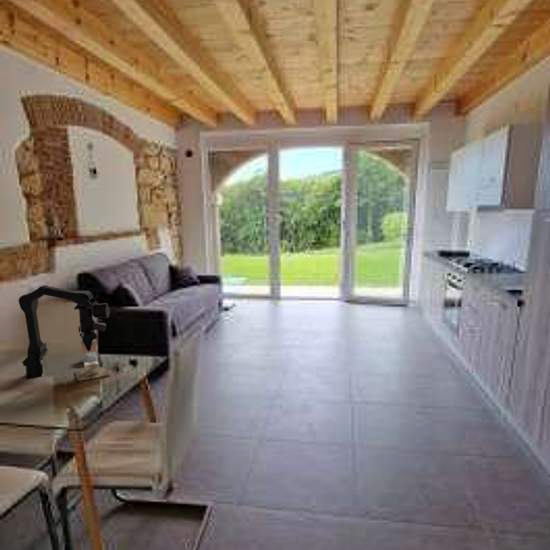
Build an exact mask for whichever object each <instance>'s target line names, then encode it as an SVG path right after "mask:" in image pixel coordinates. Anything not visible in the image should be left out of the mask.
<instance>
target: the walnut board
mask: <svg viewBox="0 0 550 550" xmlns="http://www.w3.org/2000/svg"><path fill="white" fill-rule="evenodd" d="M74 375H76V376H75V378H77V379H76V382H77V381H80V380H86V381H88V380H87V379H92V380H96V379H95V378H97V379H102V378H107V377H110V376H111V375H110V373H109V371H108V369H107V367H106V366H99V374H93V375H87V376H86V375H85V371H84V369H82V370H76V371H74ZM80 382H81V381H80Z"/></svg>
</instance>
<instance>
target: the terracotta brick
mask: <svg viewBox="0 0 550 550" xmlns="http://www.w3.org/2000/svg"><path fill="white" fill-rule="evenodd" d="M95 340H96V339H94V340H93V341H92V344H91V350H90V351H88V350H87V349H86V347H85V345H84V343H83V341H82V340H81V341H80V351H81V352H82V354H85V353H91V352H95V353H97V347H96V341H95Z"/></svg>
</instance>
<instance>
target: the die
mask: <svg viewBox="0 0 550 550" xmlns="http://www.w3.org/2000/svg"><path fill="white" fill-rule="evenodd" d="M76 354H77V358H78V360H79V362H81V363H82V362H83V363H82V364H84V363H87V362H93V360H94V359H96V357H97V354H96V352H91V353H85V354H82V352H81V350H79V352H77V353H76Z"/></svg>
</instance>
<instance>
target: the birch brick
mask: <svg viewBox="0 0 550 550" xmlns="http://www.w3.org/2000/svg"><path fill="white" fill-rule="evenodd" d="M99 365H100V363H99V361H98V360H96V361H95V360H94V361H91V362H87V363H83V367H84V369H83V370H84V371H85V375H86V376H87V375H93V374H99V368H100V366H99Z"/></svg>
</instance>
